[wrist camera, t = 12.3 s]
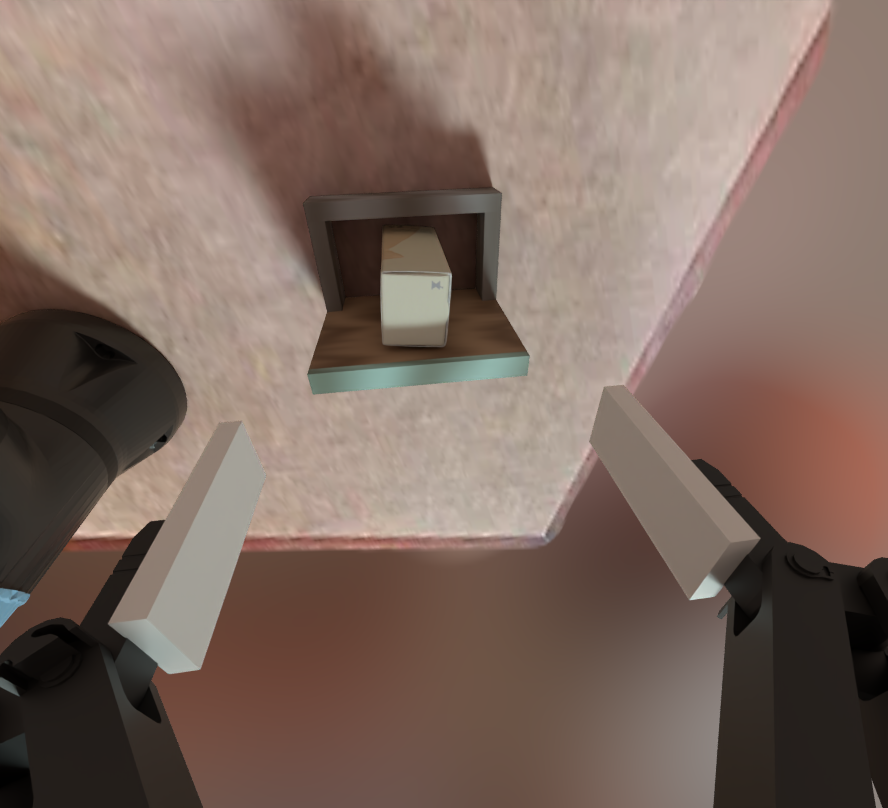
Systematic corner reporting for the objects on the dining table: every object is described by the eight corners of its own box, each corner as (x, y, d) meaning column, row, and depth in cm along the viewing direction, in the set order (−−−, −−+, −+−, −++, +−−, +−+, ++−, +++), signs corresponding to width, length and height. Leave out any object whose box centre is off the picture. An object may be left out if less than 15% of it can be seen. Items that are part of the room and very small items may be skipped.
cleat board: (334, 314, 34) (313, 394, 24) (310, 196, 29) (267, 237, 19) (488, 303, 36) (527, 375, 26) (492, 187, 30) (545, 221, 20)
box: (382, 223, 31) (379, 265, 22) (435, 226, 31) (454, 268, 22) (383, 288, 34) (381, 348, 25) (432, 289, 34) (447, 349, 25)
